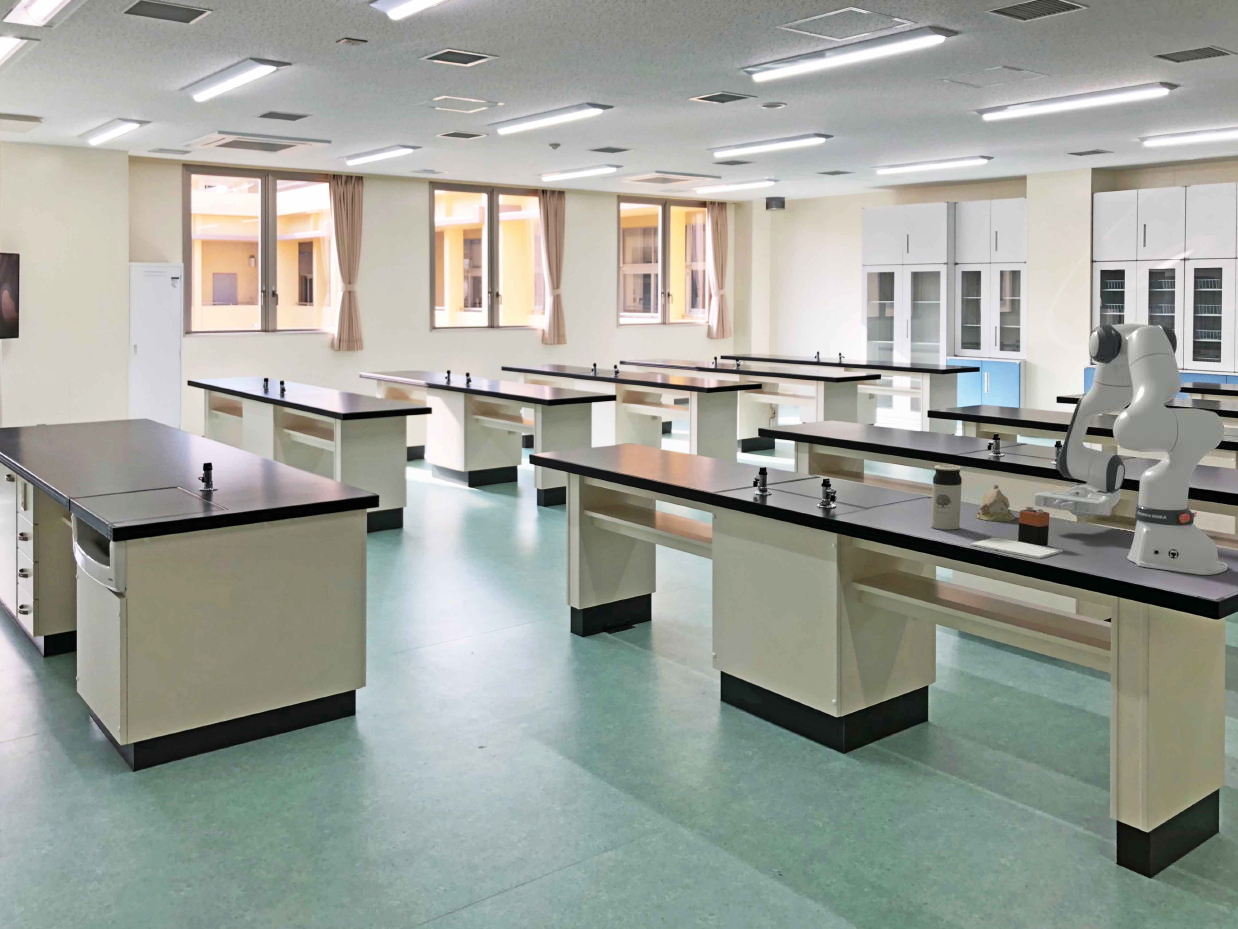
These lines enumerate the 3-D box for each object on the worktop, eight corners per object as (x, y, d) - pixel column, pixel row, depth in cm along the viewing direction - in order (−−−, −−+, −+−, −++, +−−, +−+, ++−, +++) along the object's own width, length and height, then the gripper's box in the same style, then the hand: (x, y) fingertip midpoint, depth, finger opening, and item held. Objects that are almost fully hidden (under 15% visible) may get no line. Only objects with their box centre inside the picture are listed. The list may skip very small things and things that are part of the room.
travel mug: (939, 523, 326) (942, 463, 323) (964, 527, 320) (967, 466, 318) (925, 527, 320) (928, 466, 318) (950, 531, 315) (953, 469, 312)
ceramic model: (1017, 522, 329) (1018, 489, 327) (978, 521, 331) (979, 488, 329) (1010, 513, 342) (1011, 482, 341) (972, 512, 344) (974, 480, 343)
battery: (1027, 541, 303) (1029, 505, 301) (1048, 545, 297) (1050, 509, 296) (1016, 543, 300) (1018, 507, 299) (1038, 547, 295) (1040, 511, 293)
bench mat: (1062, 552, 289) (1062, 549, 289) (1039, 558, 282) (1039, 556, 282) (994, 539, 305) (994, 537, 304) (970, 545, 297) (970, 543, 297)
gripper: (1048, 485, 321) (1023, 490, 312) (1117, 494, 306) (1093, 500, 297) (1047, 506, 322) (1022, 512, 313) (1116, 516, 307) (1092, 523, 298)
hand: (1057, 506), depth 305 cm, fingers closed
